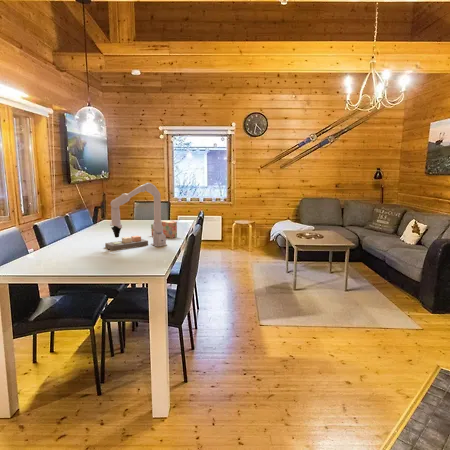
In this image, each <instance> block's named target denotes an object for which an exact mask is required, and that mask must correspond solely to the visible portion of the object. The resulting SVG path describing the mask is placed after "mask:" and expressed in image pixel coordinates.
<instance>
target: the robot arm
mask: <svg viewBox="0 0 450 450" xmlns="http://www.w3.org/2000/svg"><path fill="white" fill-rule="evenodd" d="M145 192H147V193H149V194H150V195H151V196H152V197H153V223H152V224H153V229H154V231H153V236H152V243H150V245H152V246H153V247H154V246H155V247H163V246H168V244H167V237H166V236H165V235H164V234H163V226H162V221H163V220H162V204H161V203H162V201H161V200H162V198H161V192H160V191H159V189H158V188H157V186H156V185H154V183H151V182H146V183H144V184H142V185H138V186H137V187H136V188H134V189H133V190H131V191H130V192H129V193H125V192H124V193H121V195H119V196H118V197H115V199H112V200H111V201H110V203H109V204H110V207H111V208H110V217H111V219H110V220H111V222H110V224H109V226H111V230H112V232H113V235H114V238H117V239H118V238H119V237H120V232H121V230H122V229H123V225H122V224H121V209H120V206H122V205H123V206H124V205H125V204H126V203H128V202H130V200H131V198H133V197H134V196H136V195H138V194H139V193H145Z"/></svg>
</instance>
